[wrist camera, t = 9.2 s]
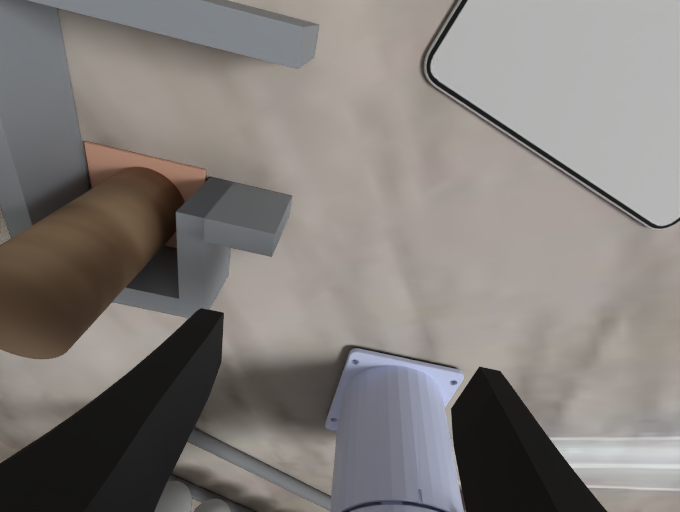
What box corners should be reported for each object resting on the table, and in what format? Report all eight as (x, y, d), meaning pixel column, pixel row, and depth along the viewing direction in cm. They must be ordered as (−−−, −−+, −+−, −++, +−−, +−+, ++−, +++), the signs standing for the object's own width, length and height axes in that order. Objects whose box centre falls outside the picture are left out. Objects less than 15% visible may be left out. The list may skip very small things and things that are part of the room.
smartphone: (551, -152, 12) (833, 100, 15) (543, -145, 12) (817, 97, 15) (414, 74, 15) (661, 237, 18) (412, 72, 16) (653, 230, 19)
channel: (277, 286, 22) (261, 333, 19) (79, 242, 22) (26, 284, 18) (319, 24, 15) (303, 27, 11) (15, -55, 14) (-96, -78, 11)
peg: (186, 241, 21) (82, 368, 13) (116, 226, 21) (-31, 346, 13) (185, 176, 19) (59, 285, 11) (106, 158, 18) (-78, 256, 11)
